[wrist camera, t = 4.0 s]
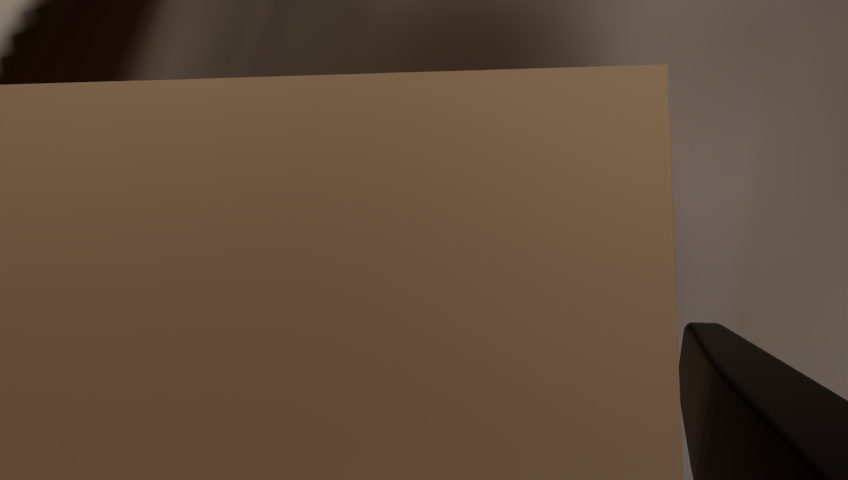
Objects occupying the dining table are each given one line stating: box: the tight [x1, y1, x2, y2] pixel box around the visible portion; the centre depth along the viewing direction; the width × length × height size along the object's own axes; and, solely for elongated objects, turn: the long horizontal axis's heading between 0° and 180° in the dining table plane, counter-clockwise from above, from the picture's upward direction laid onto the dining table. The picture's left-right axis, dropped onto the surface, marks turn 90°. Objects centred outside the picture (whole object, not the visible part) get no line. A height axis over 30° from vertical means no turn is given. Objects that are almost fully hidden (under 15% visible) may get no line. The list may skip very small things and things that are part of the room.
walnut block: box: [0, 64, 683, 480], centre depth 10 cm, size 4×4×13 cm
